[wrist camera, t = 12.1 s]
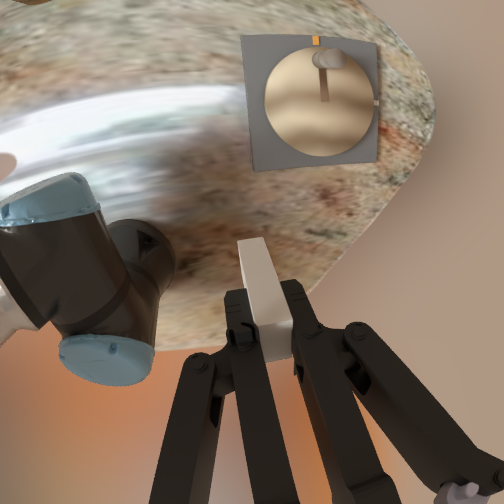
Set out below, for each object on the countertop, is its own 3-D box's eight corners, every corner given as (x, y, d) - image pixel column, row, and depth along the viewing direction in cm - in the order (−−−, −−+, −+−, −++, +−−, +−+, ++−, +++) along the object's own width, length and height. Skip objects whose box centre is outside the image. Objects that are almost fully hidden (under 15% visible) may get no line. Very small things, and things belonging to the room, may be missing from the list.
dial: (368, 150, 39) (391, 162, 34) (269, 159, 38) (281, 173, 33) (365, 51, 30) (390, 49, 25) (257, 49, 29) (268, 41, 24)
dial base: (371, 160, 42) (377, 163, 41) (253, 169, 41) (255, 172, 39) (371, 43, 31) (377, 43, 30) (240, 37, 30) (242, 35, 28)
